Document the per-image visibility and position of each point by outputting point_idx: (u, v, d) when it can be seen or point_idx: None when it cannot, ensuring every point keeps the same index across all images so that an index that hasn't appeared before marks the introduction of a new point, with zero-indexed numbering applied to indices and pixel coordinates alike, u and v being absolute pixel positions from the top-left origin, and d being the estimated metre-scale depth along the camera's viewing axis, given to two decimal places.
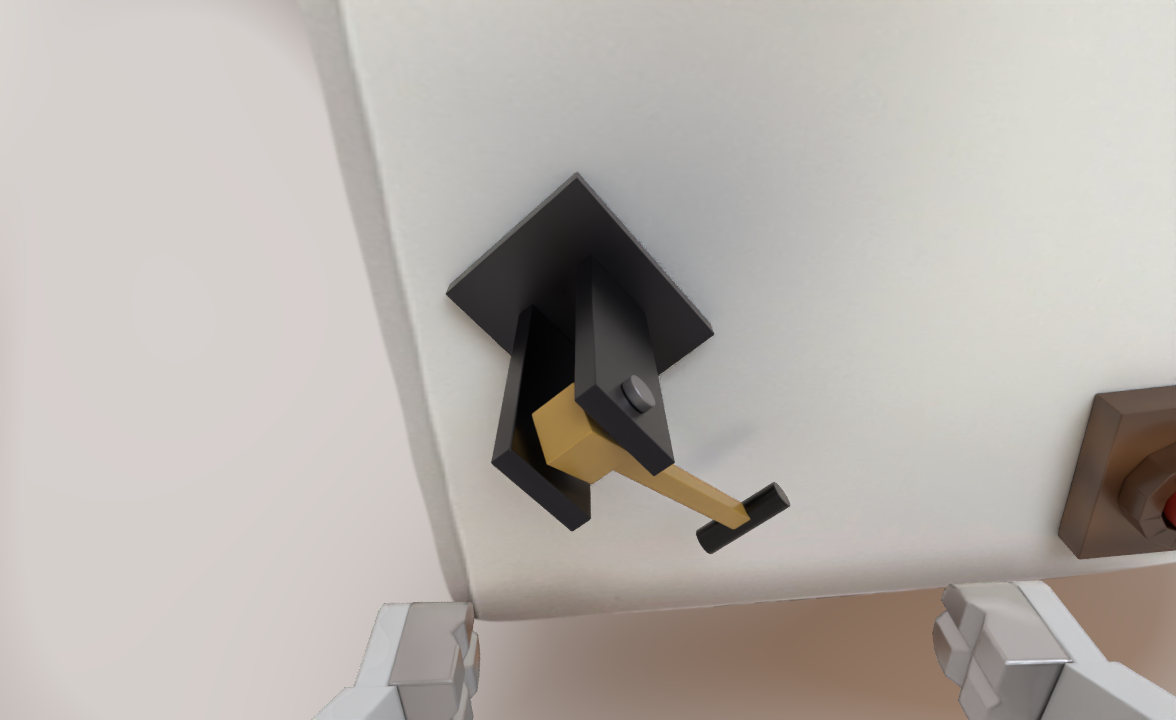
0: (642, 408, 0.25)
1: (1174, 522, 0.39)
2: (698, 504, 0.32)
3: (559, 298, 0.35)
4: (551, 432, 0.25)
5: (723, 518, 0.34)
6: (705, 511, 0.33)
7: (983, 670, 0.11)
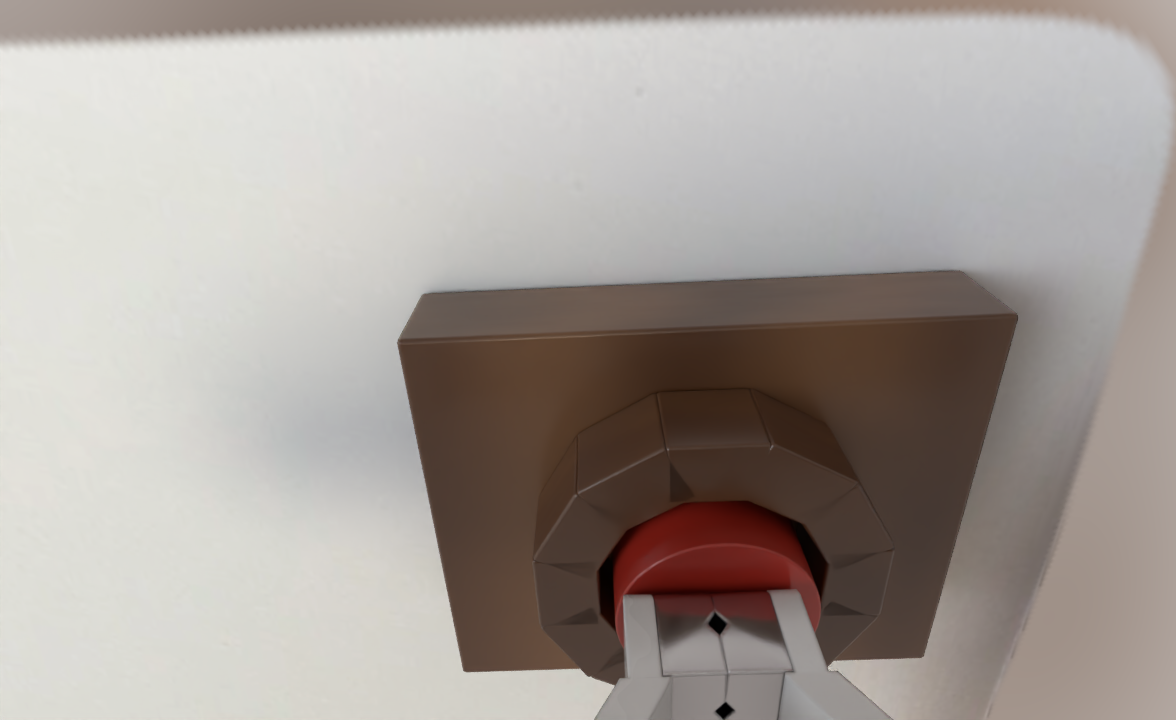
0: None
1: None
2: None
3: None
4: None
5: None
6: None
7: None
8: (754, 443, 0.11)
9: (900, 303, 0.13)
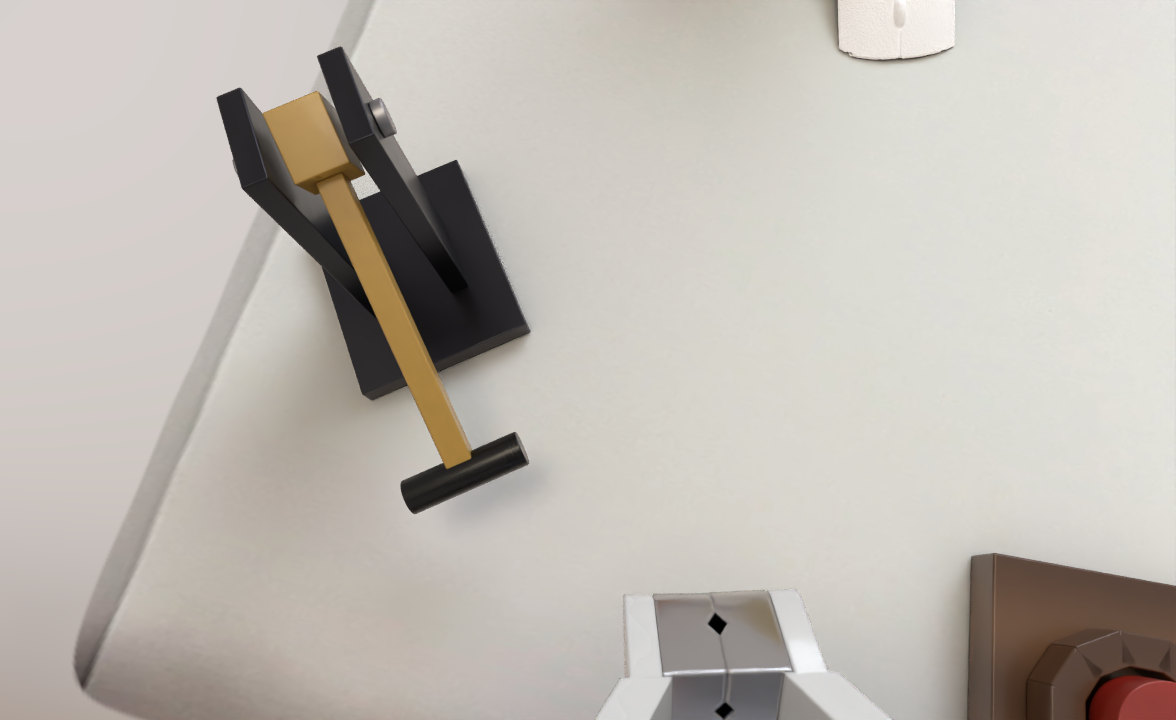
0: (376, 111, 0.26)
1: None
2: (408, 359, 0.27)
3: (398, 249, 0.37)
4: None
5: (436, 425, 0.27)
6: (414, 386, 0.27)
7: None
8: None
9: None
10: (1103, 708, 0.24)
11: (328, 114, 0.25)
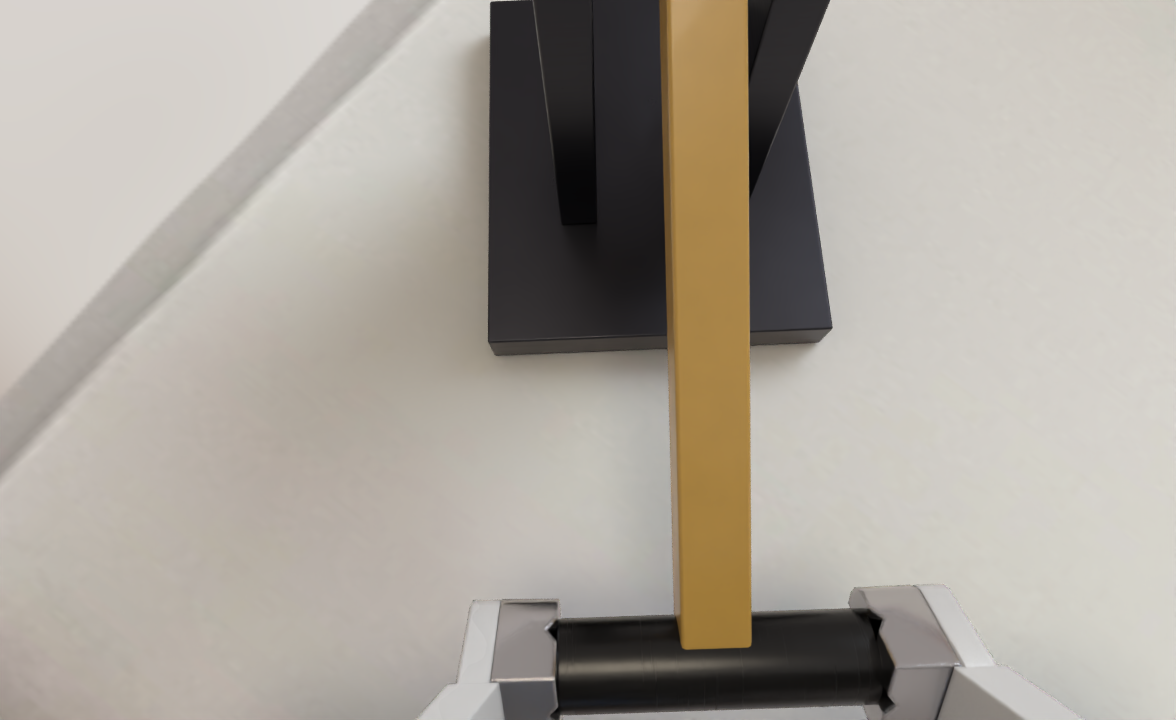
0: None
1: None
2: (706, 357, 0.10)
3: (635, 106, 0.20)
4: None
5: (702, 540, 0.10)
6: (692, 427, 0.10)
7: None
8: None
9: None
10: None
11: None
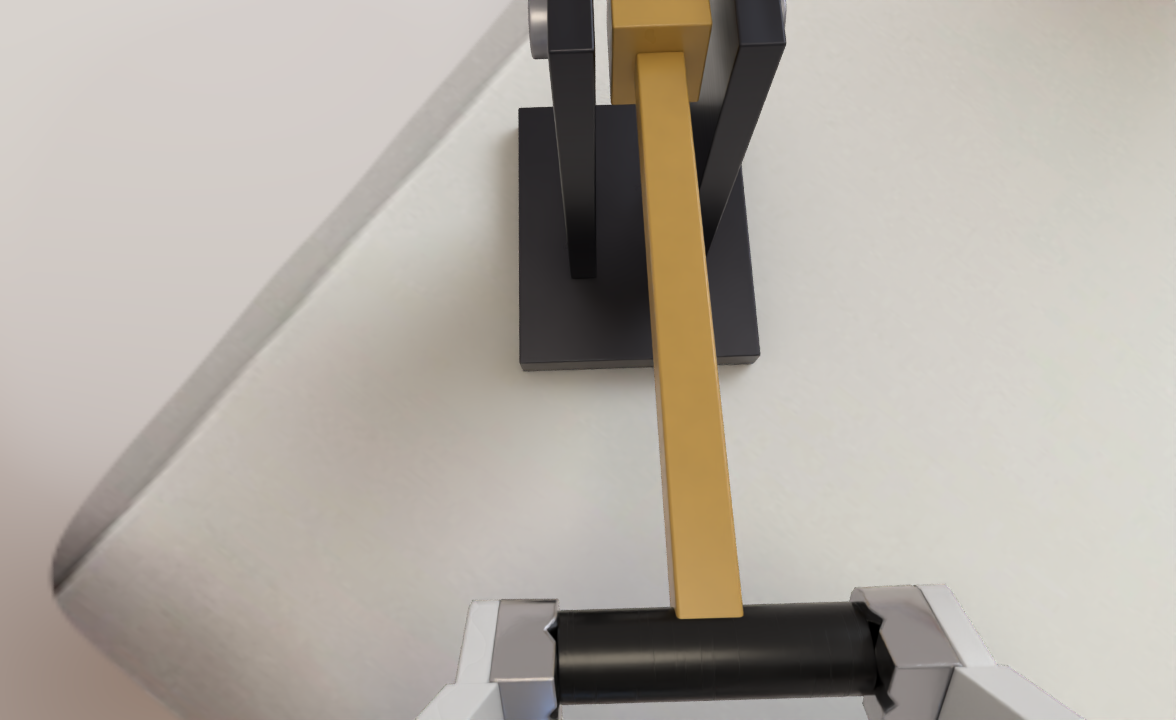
0: None
1: None
2: (682, 357, 0.13)
3: (624, 190, 0.27)
4: None
5: (690, 508, 0.12)
6: (675, 411, 0.12)
7: (881, 673, 0.11)
8: None
9: None
10: None
11: None
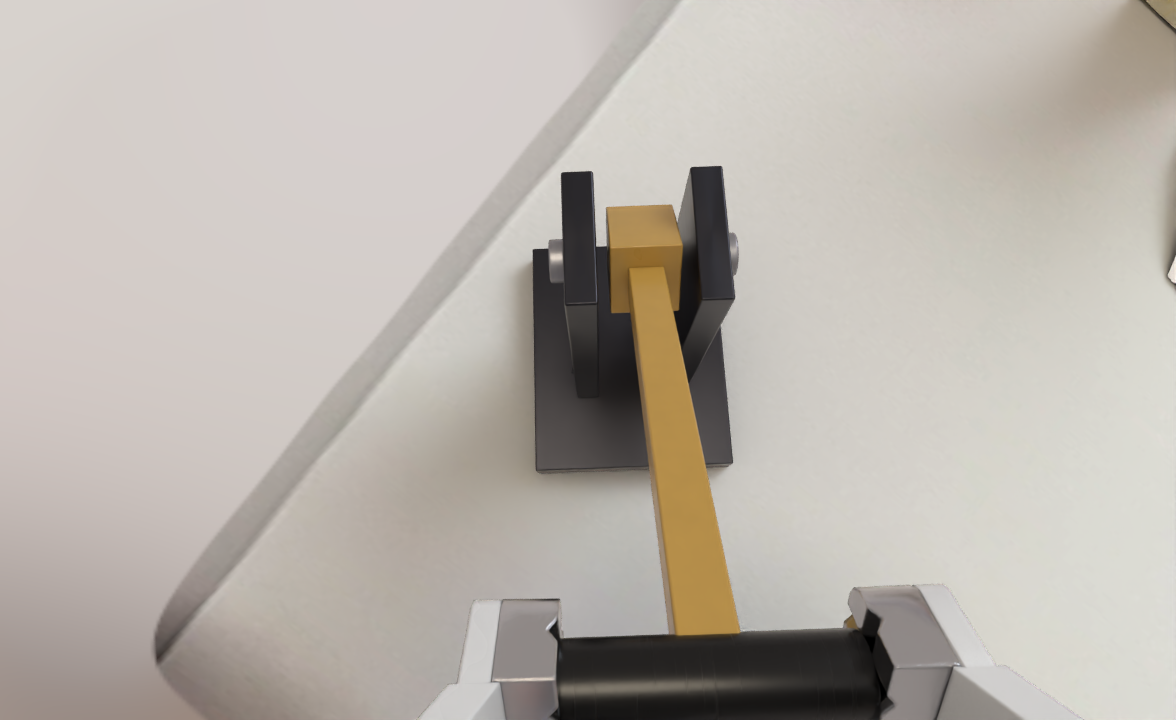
0: None
1: None
2: (671, 440, 0.15)
3: (621, 321, 0.33)
4: None
5: (683, 546, 0.13)
6: (666, 476, 0.14)
7: (879, 673, 0.11)
8: None
9: None
10: None
11: (675, 218, 0.22)
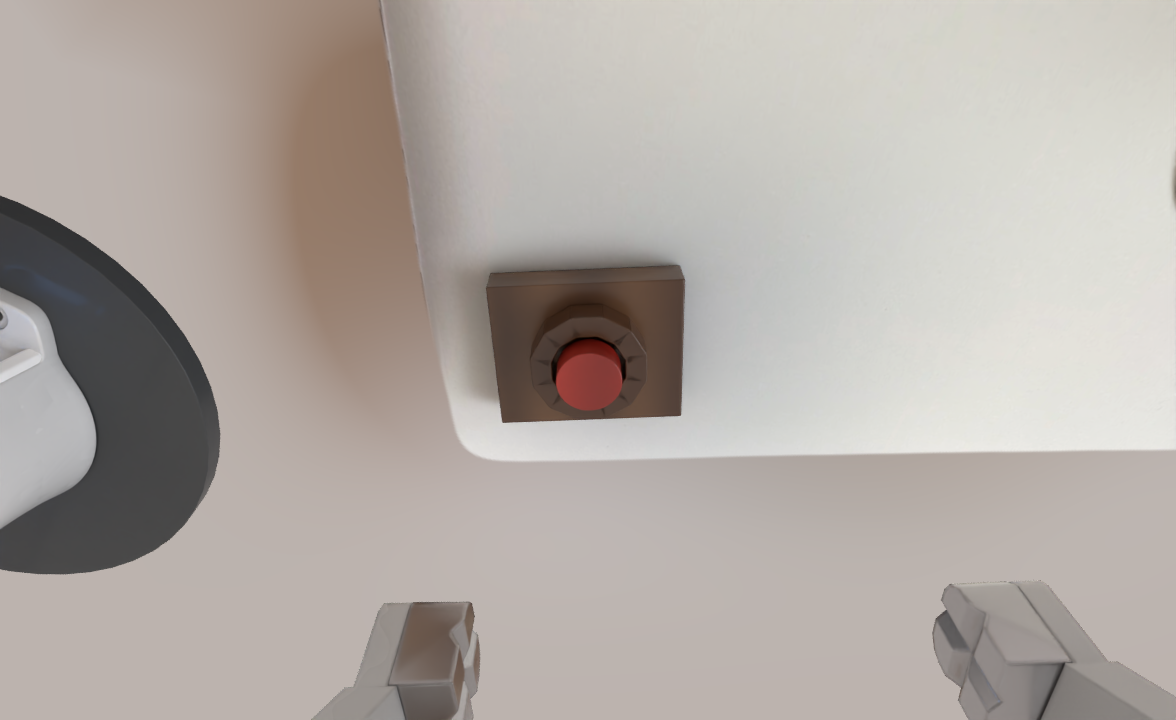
0: None
1: (574, 348, 0.37)
2: None
3: None
4: None
5: None
6: None
7: (983, 670, 0.11)
8: (581, 419, 0.40)
9: None
10: (595, 346, 0.37)
11: None
